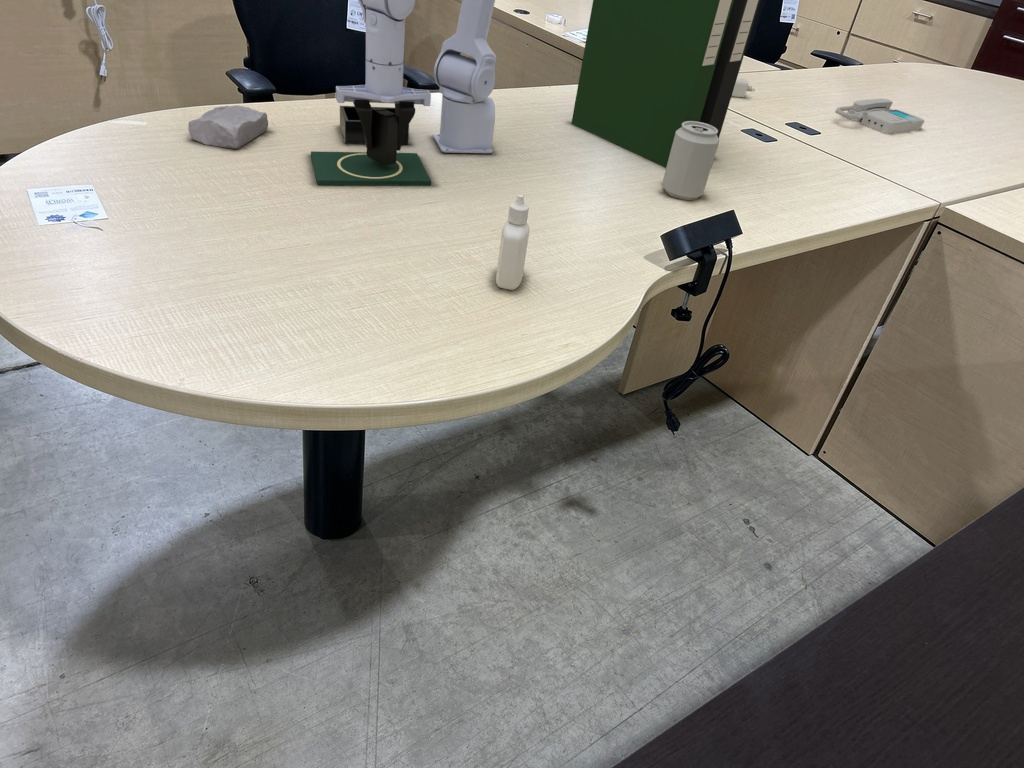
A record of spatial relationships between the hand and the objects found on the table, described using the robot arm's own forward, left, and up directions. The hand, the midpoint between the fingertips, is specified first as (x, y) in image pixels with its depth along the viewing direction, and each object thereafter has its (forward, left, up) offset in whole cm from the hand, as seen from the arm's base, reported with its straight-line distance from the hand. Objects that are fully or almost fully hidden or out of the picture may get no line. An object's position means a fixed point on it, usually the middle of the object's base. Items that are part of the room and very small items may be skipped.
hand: (382, 148), depth 120 cm
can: (-52, +9, -4) cm, 53 cm away
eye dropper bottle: (-11, +37, -4) cm, 39 cm away
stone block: (+24, -15, -4) cm, 29 cm away
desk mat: (+2, 0, -4) cm, 4 cm away
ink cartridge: (0, 0, -2) cm, 2 cm away
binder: (-56, -17, -4) cm, 59 cm away
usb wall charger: (-101, -52, -4) cm, 114 cm away
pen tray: (-1, -16, -4) cm, 16 cm away
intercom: (-129, -33, -4) cm, 133 cm away
